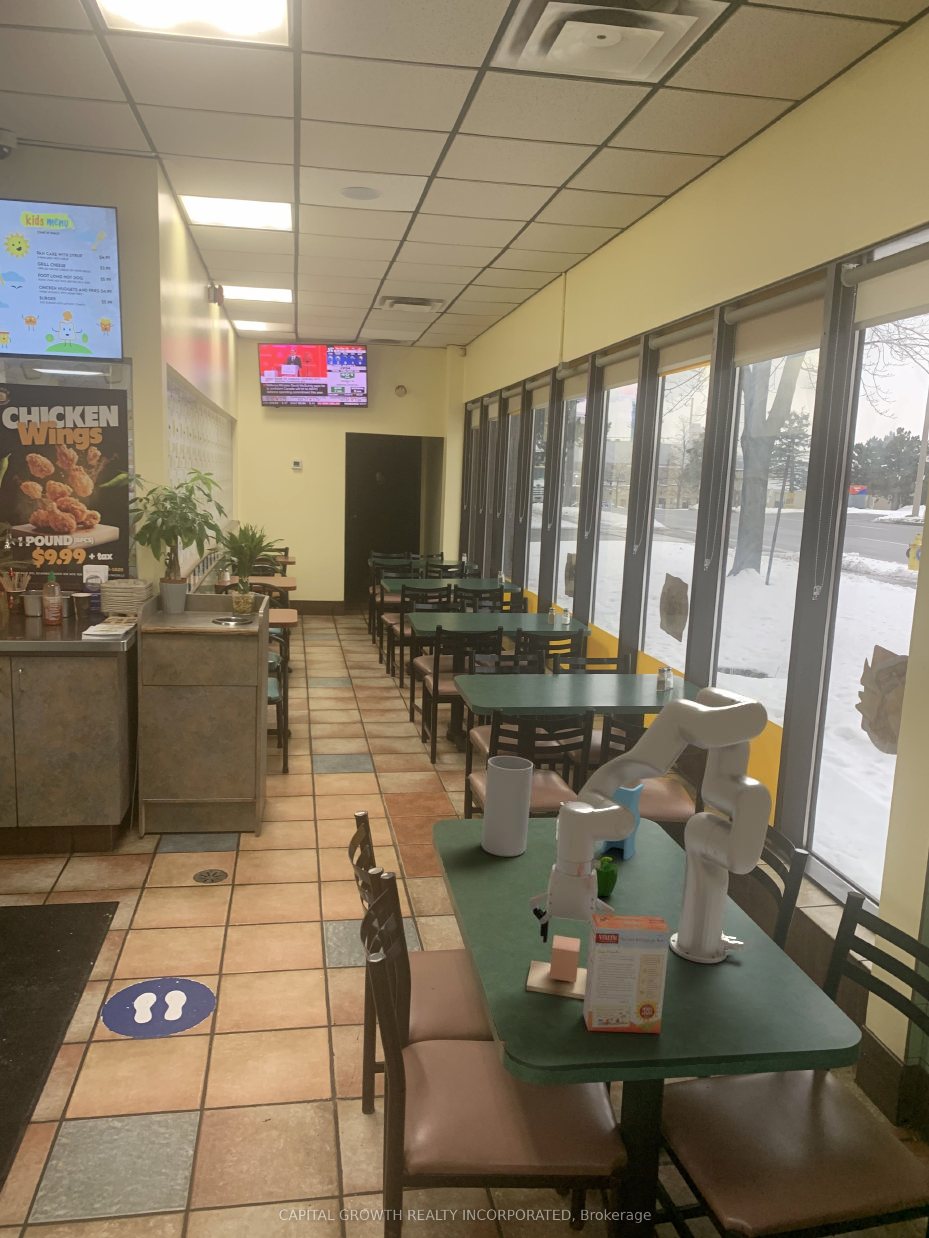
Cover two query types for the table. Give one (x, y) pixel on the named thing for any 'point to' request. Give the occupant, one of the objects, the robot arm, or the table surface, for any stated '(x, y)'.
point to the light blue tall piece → (631, 801)
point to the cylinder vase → (507, 805)
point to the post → (555, 981)
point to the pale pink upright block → (564, 958)
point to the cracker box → (626, 973)
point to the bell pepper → (606, 877)
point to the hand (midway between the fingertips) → (568, 942)
